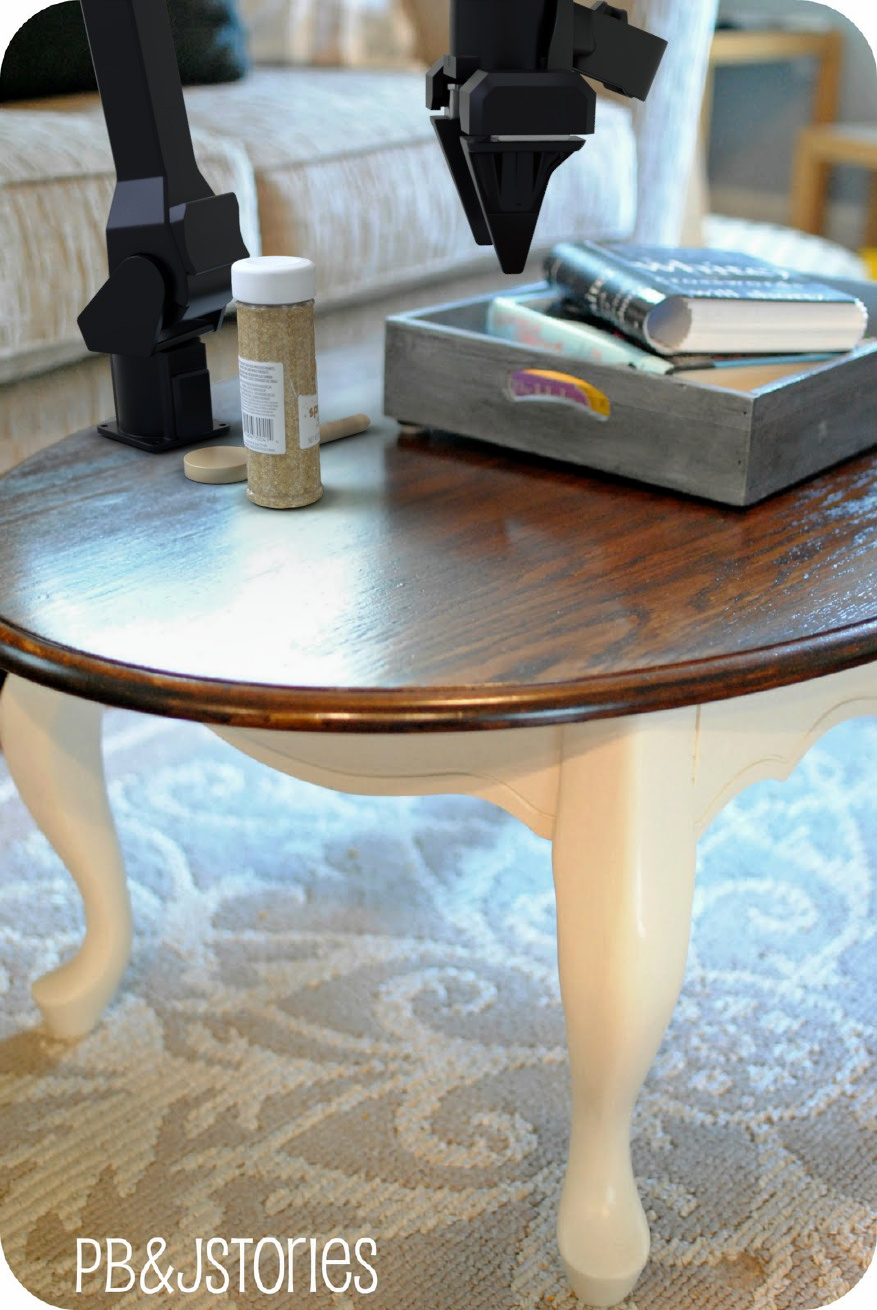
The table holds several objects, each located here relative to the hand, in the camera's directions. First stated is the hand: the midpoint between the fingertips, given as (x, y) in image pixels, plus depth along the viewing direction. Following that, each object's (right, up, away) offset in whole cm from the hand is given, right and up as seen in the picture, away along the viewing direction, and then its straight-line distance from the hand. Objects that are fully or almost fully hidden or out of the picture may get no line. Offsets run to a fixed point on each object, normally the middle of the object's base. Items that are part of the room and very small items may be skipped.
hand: (498, 258), depth 77 cm
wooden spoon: (-13, -10, +10) cm, 19 cm away
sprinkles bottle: (-12, -13, +3) cm, 18 cm away
